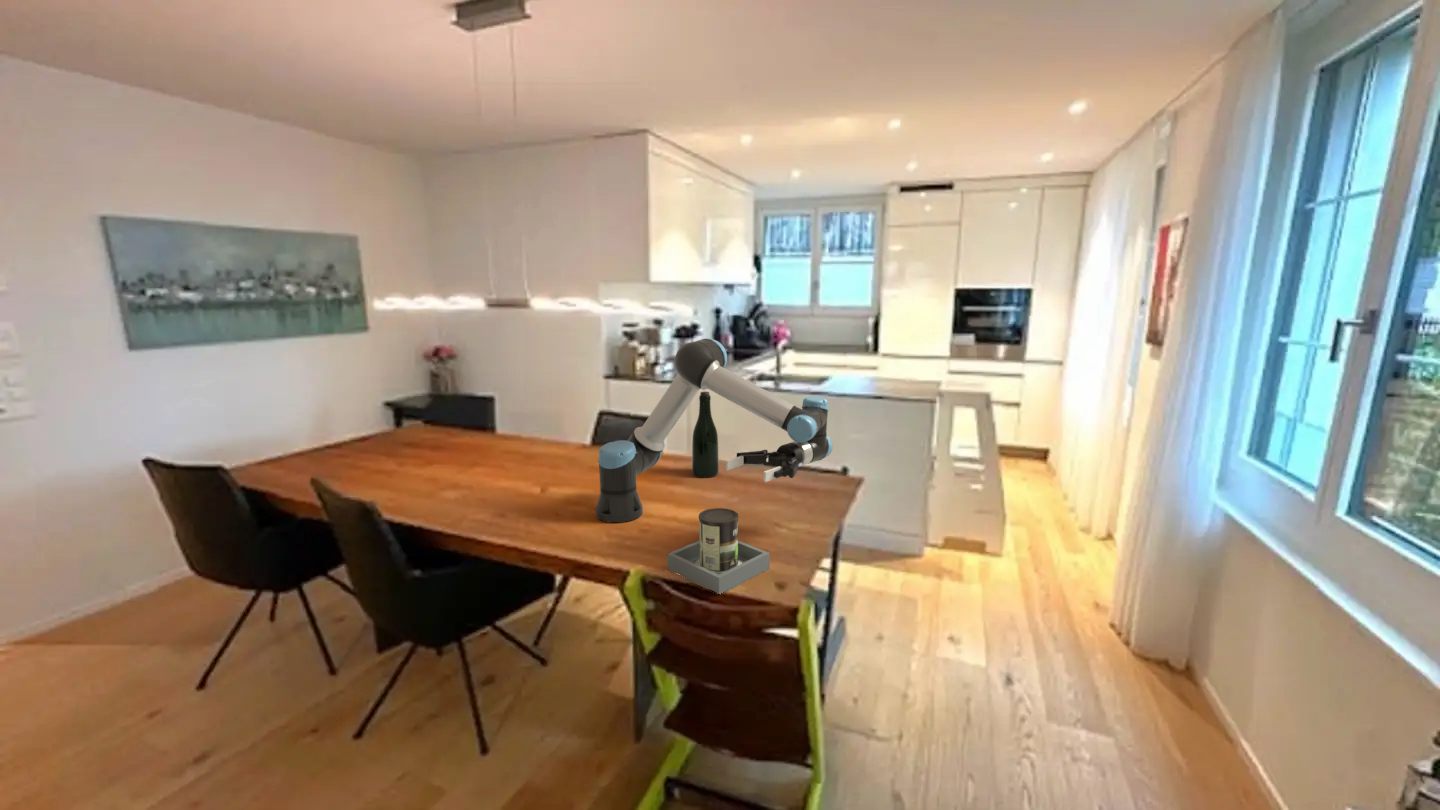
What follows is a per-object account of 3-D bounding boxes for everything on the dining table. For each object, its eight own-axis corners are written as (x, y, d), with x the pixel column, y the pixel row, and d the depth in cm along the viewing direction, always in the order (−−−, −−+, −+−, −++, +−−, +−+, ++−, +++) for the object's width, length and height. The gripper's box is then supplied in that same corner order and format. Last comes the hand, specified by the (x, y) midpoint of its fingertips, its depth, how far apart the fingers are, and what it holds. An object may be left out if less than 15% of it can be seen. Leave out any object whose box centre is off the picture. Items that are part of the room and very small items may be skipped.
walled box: (719, 595, 146) (719, 578, 146) (667, 569, 159) (667, 553, 159) (769, 568, 160) (769, 552, 159) (718, 547, 173) (718, 532, 172)
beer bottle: (694, 469, 244) (693, 389, 237) (719, 470, 243) (719, 389, 236) (690, 477, 234) (689, 394, 227) (717, 478, 233) (717, 394, 226)
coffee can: (738, 556, 164) (738, 507, 162) (738, 574, 154) (738, 522, 151) (700, 556, 164) (699, 507, 162) (698, 574, 154) (697, 522, 152)
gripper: (828, 477, 168) (781, 496, 154) (760, 458, 185) (711, 473, 171) (830, 451, 167) (782, 468, 152) (761, 434, 184) (712, 447, 169)
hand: (744, 470), depth 161 cm, fingers open, 13 cm apart
